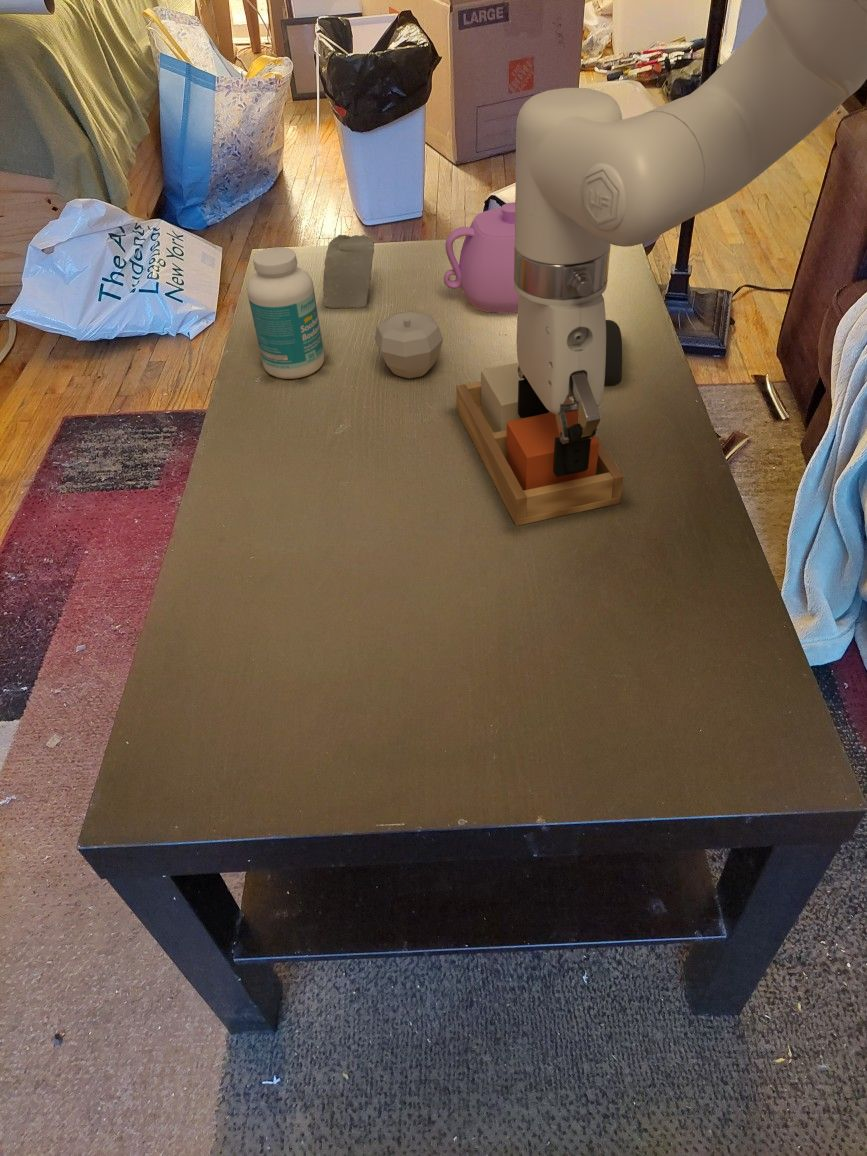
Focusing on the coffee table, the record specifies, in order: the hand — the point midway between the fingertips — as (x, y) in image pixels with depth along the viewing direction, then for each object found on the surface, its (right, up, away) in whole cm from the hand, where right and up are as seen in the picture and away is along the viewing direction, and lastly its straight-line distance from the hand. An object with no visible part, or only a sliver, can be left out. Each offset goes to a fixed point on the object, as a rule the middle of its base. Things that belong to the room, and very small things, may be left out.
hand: (551, 441), depth 79 cm
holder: (-1, 0, +7) cm, 7 cm away
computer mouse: (+8, +13, +19) cm, 24 cm away
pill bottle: (-28, +13, +22) cm, 38 cm away
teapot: (0, +24, +31) cm, 39 cm away
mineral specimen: (-22, +25, +34) cm, 47 cm away
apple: (-14, +11, +19) cm, 27 cm away
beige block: (-2, +4, +9) cm, 10 cm away
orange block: (0, -3, +3) cm, 4 cm away
